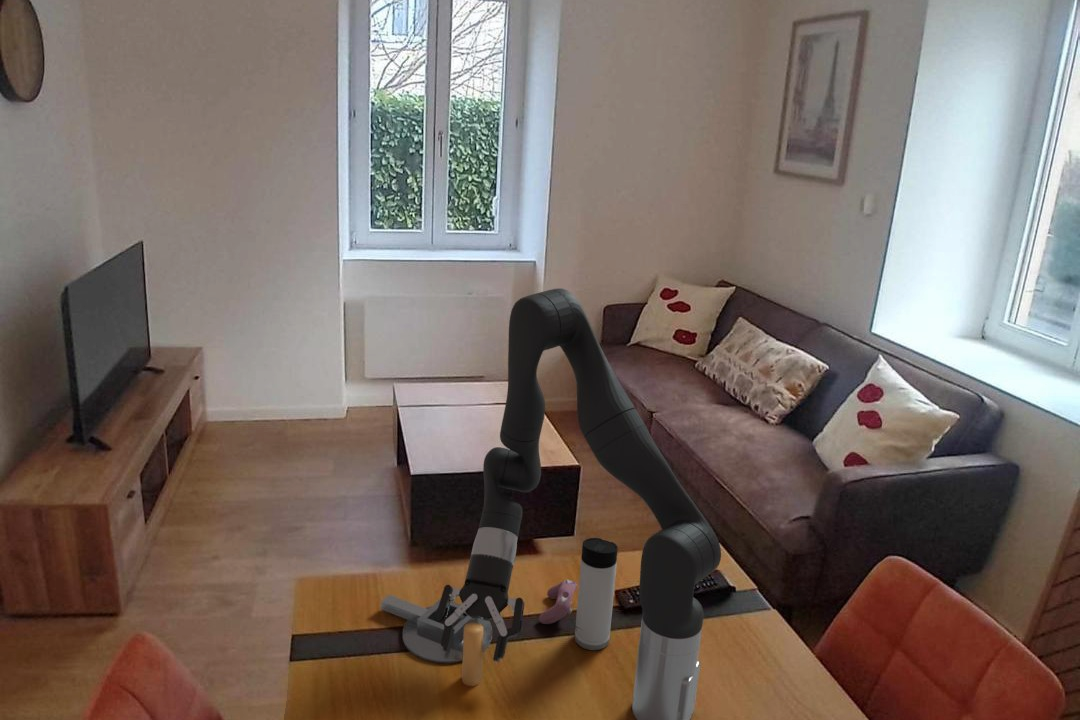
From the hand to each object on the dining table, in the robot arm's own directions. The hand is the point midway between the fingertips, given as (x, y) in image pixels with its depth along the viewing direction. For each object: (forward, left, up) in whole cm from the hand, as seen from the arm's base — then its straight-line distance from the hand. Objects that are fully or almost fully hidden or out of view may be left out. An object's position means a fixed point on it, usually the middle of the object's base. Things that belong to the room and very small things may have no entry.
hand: (471, 656), depth 134 cm
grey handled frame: (+13, -9, -5) cm, 17 cm away
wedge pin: (0, -1, -5) cm, 5 cm away
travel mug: (-13, -21, -5) cm, 25 cm away
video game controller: (-4, -25, -5) cm, 26 cm away
